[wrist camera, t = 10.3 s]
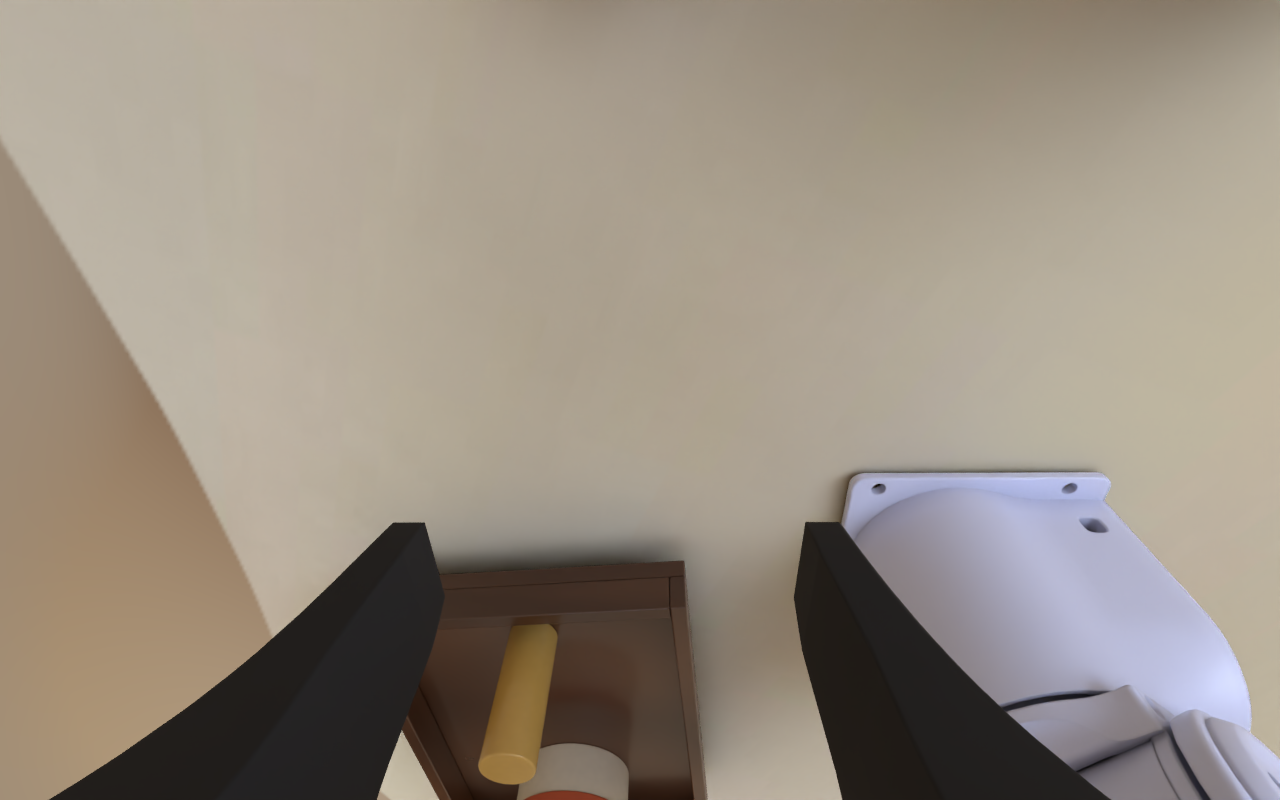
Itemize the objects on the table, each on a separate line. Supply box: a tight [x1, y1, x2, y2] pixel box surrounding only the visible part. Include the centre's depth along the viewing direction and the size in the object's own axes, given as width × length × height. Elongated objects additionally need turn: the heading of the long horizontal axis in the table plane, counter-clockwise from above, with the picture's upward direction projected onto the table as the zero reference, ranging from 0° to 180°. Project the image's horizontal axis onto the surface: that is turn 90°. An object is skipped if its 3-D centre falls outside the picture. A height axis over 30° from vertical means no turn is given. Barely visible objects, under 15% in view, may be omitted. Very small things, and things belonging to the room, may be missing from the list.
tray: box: [402, 561, 708, 800], centre depth 27 cm, size 18×13×6 cm
